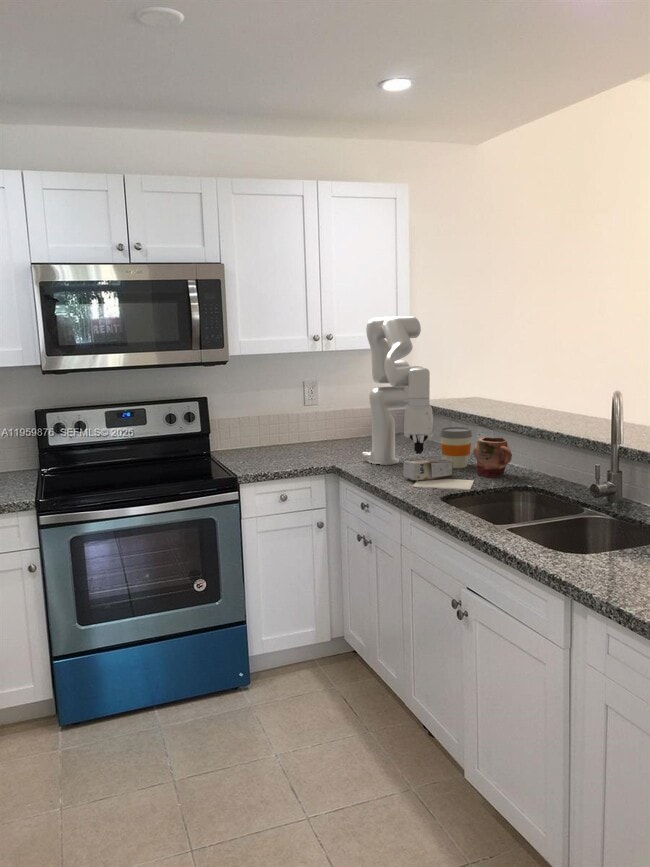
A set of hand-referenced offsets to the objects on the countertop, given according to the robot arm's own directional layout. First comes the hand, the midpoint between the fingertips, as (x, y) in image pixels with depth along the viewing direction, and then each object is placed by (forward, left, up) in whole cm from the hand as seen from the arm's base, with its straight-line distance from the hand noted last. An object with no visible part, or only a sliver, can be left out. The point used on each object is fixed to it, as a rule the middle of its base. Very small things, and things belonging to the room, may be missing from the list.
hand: (418, 453), depth 256 cm
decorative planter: (+25, +19, -11) cm, 33 cm away
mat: (+9, 0, -11) cm, 14 cm away
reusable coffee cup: (+9, +34, -11) cm, 37 cm away
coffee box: (-5, +3, -7) cm, 9 cm away
